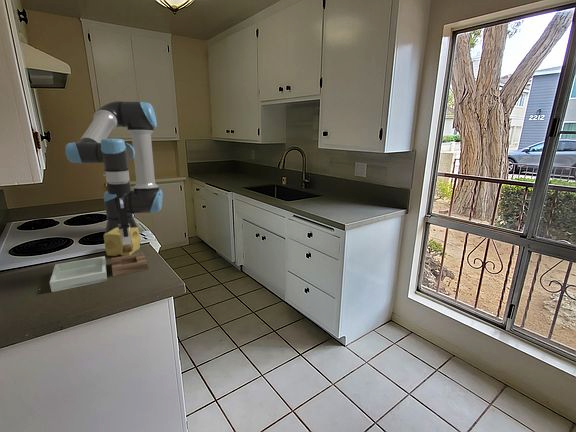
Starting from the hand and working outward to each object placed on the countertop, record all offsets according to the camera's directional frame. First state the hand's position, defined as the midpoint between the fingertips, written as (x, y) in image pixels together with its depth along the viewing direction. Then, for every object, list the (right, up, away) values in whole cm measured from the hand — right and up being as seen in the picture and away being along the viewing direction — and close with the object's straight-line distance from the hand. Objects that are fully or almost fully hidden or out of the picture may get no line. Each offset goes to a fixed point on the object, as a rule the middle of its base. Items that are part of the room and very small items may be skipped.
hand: (126, 242), depth 118 cm
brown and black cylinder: (0, -4, +1) cm, 4 cm away
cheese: (-10, -6, +17) cm, 21 cm away
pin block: (0, -10, +3) cm, 10 cm away
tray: (-13, -12, -6) cm, 19 cm away
